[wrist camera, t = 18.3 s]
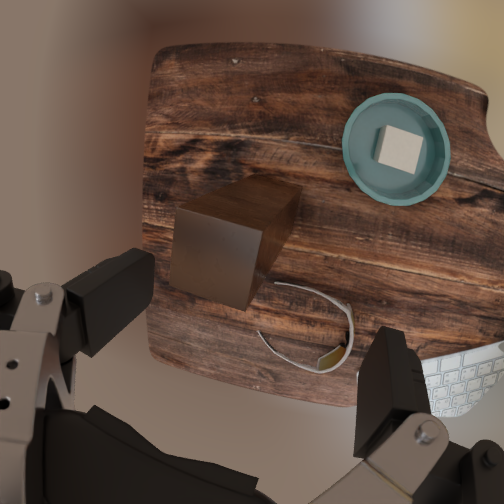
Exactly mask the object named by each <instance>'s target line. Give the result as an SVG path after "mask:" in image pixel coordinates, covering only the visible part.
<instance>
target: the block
mask: <svg viewBox="0 0 504 504" xmlns="http://www.w3.org/2000/svg"><path fill="white" fill-rule="evenodd" d="M422 141H423V137H421V136H418V135H415V134H413V133H410V132H407V131H404V130H401V129H398V128H395V127H392V126H389V125H386V126H383V127H381V128H380V132H379V137H378V141H377V145H376V149H375V153H374V157H373V160H375V161H377V162H378V163H381V164H384V165H388V166H391V167H394V168H397V169H400V170H403V171H406V172H408V173H411V174H414V173H415V170H416V166H417V162H418V158H419V154H420V150H421V146H422Z"/></svg>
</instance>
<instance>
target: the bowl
mask: <svg viewBox="0 0 504 504" xmlns="http://www.w3.org/2000/svg"><path fill="white" fill-rule="evenodd" d="M386 125H389V126H392V127H395V128H398V129H401V130H404V131H407V132H410V133H413V134H415V135H418V136H421V137H423V141H422V146H421V150H420V154H419V158H418V162H417V166H416V170H415V173H414V174H411V173H408V172H406V171H403V170H400V169H397V168H394V167H391V166H388V165H384V164H381V163H378V162H377V161H375V160H373V157H374V153H375V149H376V145H377V141H378V137H379V132H380V128H381V127H383V126H386ZM342 150H343V160H344V162H345V165H346V167H347V170H348V172H349V175H350V177H351V178H352V179H353V180H354V182H355V183H356V184H357V186H358V187H359V188H360V189H361V190H362V191H363V192H364V193H366V194H367V195H369V196H370V197H372V198H373V199H374V200H376V201H379V202H382V203H385V204H388V205H391V206H409V205H412V204H415V203H418V202H421V201H424V200H425V199H427V198H428V197H429V196H430V195H432V194H433V193H434V192H436V191H437V190H438V188H439V187H440V185H441V183H442V182H443V180H444V179H445V177H446V175H447V171H448V168H449V164H450V159H451V155H450V141H449V138H448V135H447V132H446V130H445V127H444V125H443V123H442V122H441V120H440V119H439V117H438V116H437V115H436V113H435V112H434V111H433V110H432V109H431V108H430V107H429V106H427V105H426V104H425V103H423V102H422V101H421V100H419V99H417V98H414V97H411V96H409V95H406V94H403V93H382V94H379V95H376V96H373V97H370V98H368V99H367V100H365V101H364V102H363V103H362V104H360V105H359V106H358V107H357V108H355V110H354V111H353V113H352V114H351V116H350V117H349V119H348V121H347V122H346V124H345V129H344V133H343V137H342Z"/></svg>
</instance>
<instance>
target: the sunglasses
mask: <svg viewBox="0 0 504 504" xmlns="http://www.w3.org/2000/svg"><path fill="white" fill-rule="evenodd" d="M274 283H276V284H283V285H290V286H294V287H299V288H302V289H306V290H309V291H312V292H315V293H317V294H319V295H322V296H323V297H325V298H327V299H328V300H330V301H331V302H333V303H334V304H335V305H337V306H338V307H339V308H340V309H341V310H343V311H344V312H345V313H346V314H347V317H348V320H349V323H350V327H349V331H347V332H346V341H347V344H346V345H345V344H344V343H340V344H339V346H338V347H337V348H335V349H334V350H332V351H331V352H329V353H327V354H326V355H324V356H322V357H320V358H319V359H318V362H317V366H316V367H313V366H310V365H307V364H300V363H297V362H294V361H292V360H291V359H289V358H287V357H286V356H285V355H283V354H281V353H280V352H278V351H277V350H275V349H274V348H273V347H272V346H271V345H270V344H269V342H268V341H267V340H266V338H265V337H264V336H263V334H262V333H261V331H259V330H257V332H258V333H259V335H260V336H261V338H262V339H263V341H264V342H265V344H266V345H267V346H268V347H269V348H270V349H271V350H272V351H273V352H274V353H275V354H276V355H278V356H280V357H281V358H283V359H285V360H286V361H288V362H290V363H292V364H294V365H296V366H298V367H300V368H303V369H306V370H309V371H312V372H315V373H319V374H321V373H325V372H329V371H332V370H334V369H336V368H337V367H339V366H340V365H341V364H342V363H343V362H344V361H345V360H346V358H347V357H348V355H349V353H350V351H351V348H352V345H353V339H354V333H355V323H354V317H353V312H352V308H351V306H350V304H349V303H347V306H346V305H344V304H343V303H342V302H341V301H339V300H337V299H335V298H333V297H330V296H328V295H326V294H324V293H322V292H320V291H318V290H316V289H314V288H310V287H307V286H303V285H299V284H295V283H289V282H281V281H278V282H274Z"/></svg>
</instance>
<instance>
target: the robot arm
mask: <svg viewBox="0 0 504 504" xmlns="http://www.w3.org/2000/svg"><path fill="white" fill-rule="evenodd" d="M154 266H155V258H154V255H153V254H152V253H149V252H146V251H143V250H140V249H137V248H132V249H130V250H129V251H127V252H125V253H123V254H121V255H120V256H117V257H113V258H109V259H106V260H104V261H102V262H100V263H99V264H97V265H96V266H95V267H92V268H90V269H88V271H85V272H84V273H82V274H80V275H78V276H77V277H75V278H73V279H72V280H70V281H69V282H67V283H66V284H64V285H62V286H59V285H57V284H54V283H39V284H35V285H33V286H31V287H29V288H28V289H27V290H26V291H25V290H21V289H17V288H14V287H13V283H12V277H11V275H10V274H9V273H8V272H6V271H1V270H0V504H277V503H275V502H274V501H273V500H272V499H271V498H269V497H268V496H266V495H265V494H263V493H261V492H260V491H258V490H256V489H255V488H256V485H257V482H258V479H259V478H257V477H253V476H250V475H247V474H244V473H241V472H238V471H235V470H232V469H229V468H226V467H223V466H220V465H218V464H215V463H210V462H204V461H198V460H193V459H187V458H182V457H177V456H173V455H168V454H165V453H163V452H161V451H160V450H159V449H158V448H156V447H155V446H154V445H153V444H151V443H150V442H149V441H148V440H146V439H145V438H144V437H143V436H142V435H140V434H139V433H138V432H137V431H136V430H135V429H133V428H132V427H131V426H130V425H129V424H127V423H125V422H123V421H122V420H120V419H118V418H116V417H114V416H113V415H111V414H109V413H108V412H106V411H104V410H103V409H101V408H99V407H97V406H96V405H94V406H93V407H92V408H91V409H90V410H89V411H88V412H87V413H84V412H80V411H76V410H75V405H74V393H75V392H74V391H75V374H76V356H75V354H77V353H78V352H79V351H81V352H83V353H84V354H86V355H88V356H89V357H91V358H92V357H93V356H94V355H95V354H96V353H97V352H99V351H100V350H101V349H102V348H103V347H104V346H105V345H106V344H107V343H108V342H109V341H110V340H112V339H113V338H114V337H115V336H116V335H117V334H118V333H119V332H120V331H121V330H123V329H124V328H125V327H126V326H127V325H128V324H129V323H130V322H131V321H132V320H134V318H136V317H137V316H138V315H139V314H140V313H141V312H142V311H144V310H145V309H146V308H147V307H148V305H149V304H150V302H151V300H152V296H153V288H154ZM353 456H354V457H358V458H363V459H364V460H362V461H361V462H360V463H359V464H358V465H357V466H355V467H354V468H353V469H352V470H351V471H350V472H348V473H347V474H346V475H345V476H344V477H342V478H341V479H340V480H339V481H337V482H336V483H335V484H334V485H332V486H331V487H330V488H329V489H327V490H326V491H325V492H323V493H322V494H321V495H319V496H318V497H317V498H315V499H314V500H313V501H311V502H310V503H308V504H504V451H503V450H502V448H501V447H500V446H499V445H498V444H496V443H495V442H493V441H491V440H480V441H478V442H477V443H476V444H475V445H474V446H473V447H472V448H471V449H468V448H465V447H463V446H460V445H458V444H456V443H453V442H451V441H449V434H448V431H447V429H446V427H445V425H444V424H443V423H442V422H441V421H440V420H439V419H438V418H436V417H435V416H433V415H431V409H430V403H429V398H428V393H427V388H426V384H425V378H424V374H423V369H422V365H421V361H420V359H419V358H418V356H417V355H416V353H415V352H414V350H413V349H409V348H407V344H406V340H405V335H404V332H403V331H400V330H396V329H393V328H389V327H385V326H381V327H380V329H379V330H378V332H377V334H376V336H375V338H374V340H373V342H372V344H371V346H370V348H369V350H368V352H367V354H366V356H365V358H364V360H363V362H362V365H361V367H360V371H359V375H358V392H357V415H356V430H355V443H354V454H353Z"/></svg>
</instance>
